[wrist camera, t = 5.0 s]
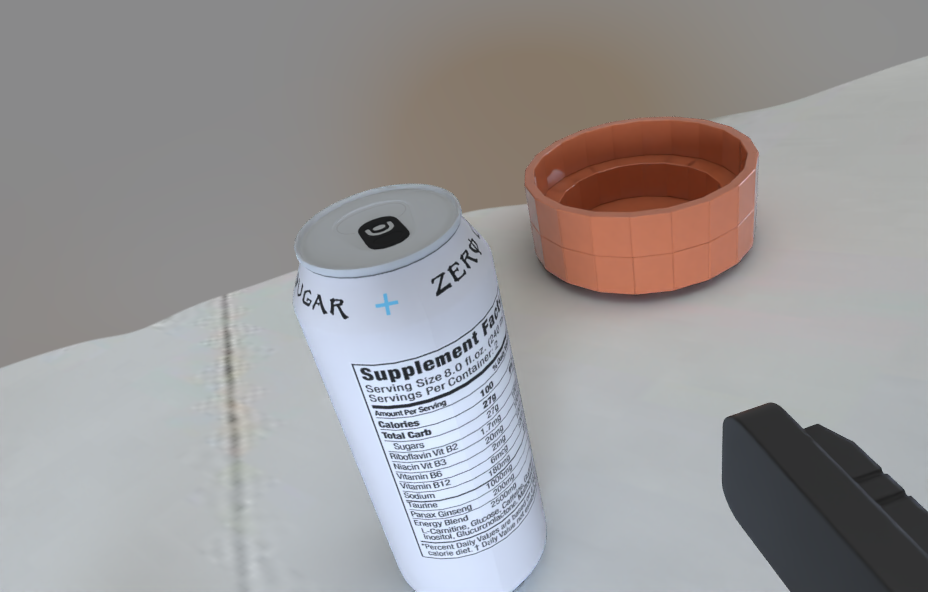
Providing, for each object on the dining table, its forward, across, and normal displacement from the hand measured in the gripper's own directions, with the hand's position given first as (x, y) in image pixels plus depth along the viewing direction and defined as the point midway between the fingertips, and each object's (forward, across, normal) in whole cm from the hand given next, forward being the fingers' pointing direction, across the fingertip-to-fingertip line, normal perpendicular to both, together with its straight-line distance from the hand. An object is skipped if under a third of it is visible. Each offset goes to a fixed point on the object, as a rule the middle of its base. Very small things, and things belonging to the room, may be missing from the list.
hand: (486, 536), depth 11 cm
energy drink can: (+11, 0, +15) cm, 19 cm away
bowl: (+29, -16, +15) cm, 36 cm away
